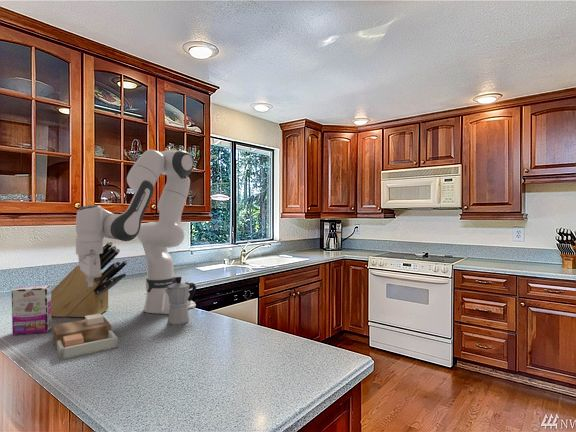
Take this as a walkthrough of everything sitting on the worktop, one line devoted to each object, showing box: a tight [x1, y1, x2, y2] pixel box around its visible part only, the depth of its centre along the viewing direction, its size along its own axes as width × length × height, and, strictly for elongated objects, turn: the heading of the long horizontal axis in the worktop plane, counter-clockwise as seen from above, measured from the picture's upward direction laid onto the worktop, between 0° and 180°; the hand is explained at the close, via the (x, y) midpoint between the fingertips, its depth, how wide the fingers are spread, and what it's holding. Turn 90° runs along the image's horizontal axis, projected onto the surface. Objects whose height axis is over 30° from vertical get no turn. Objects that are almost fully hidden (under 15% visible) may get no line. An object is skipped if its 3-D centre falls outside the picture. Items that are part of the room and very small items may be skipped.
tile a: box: [84, 313, 105, 325], centre depth 128 cm, size 5×5×2 cm
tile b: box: [63, 333, 84, 347], centre depth 115 cm, size 5×5×2 cm
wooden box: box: [52, 315, 112, 350], centre depth 125 cm, size 16×12×5 cm
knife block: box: [51, 241, 128, 318], centre depth 153 cm, size 11×35×31 cm, turn 88°
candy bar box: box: [11, 285, 53, 336], centre depth 132 cm, size 11×5×16 cm, turn 105°
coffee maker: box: [165, 276, 197, 326], centre depth 146 cm, size 15×9×18 cm, turn 143°
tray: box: [56, 329, 119, 361], centre depth 117 cm, size 16×9×3 cm, turn 128°
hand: (89, 286), depth 134 cm, fingers closed
